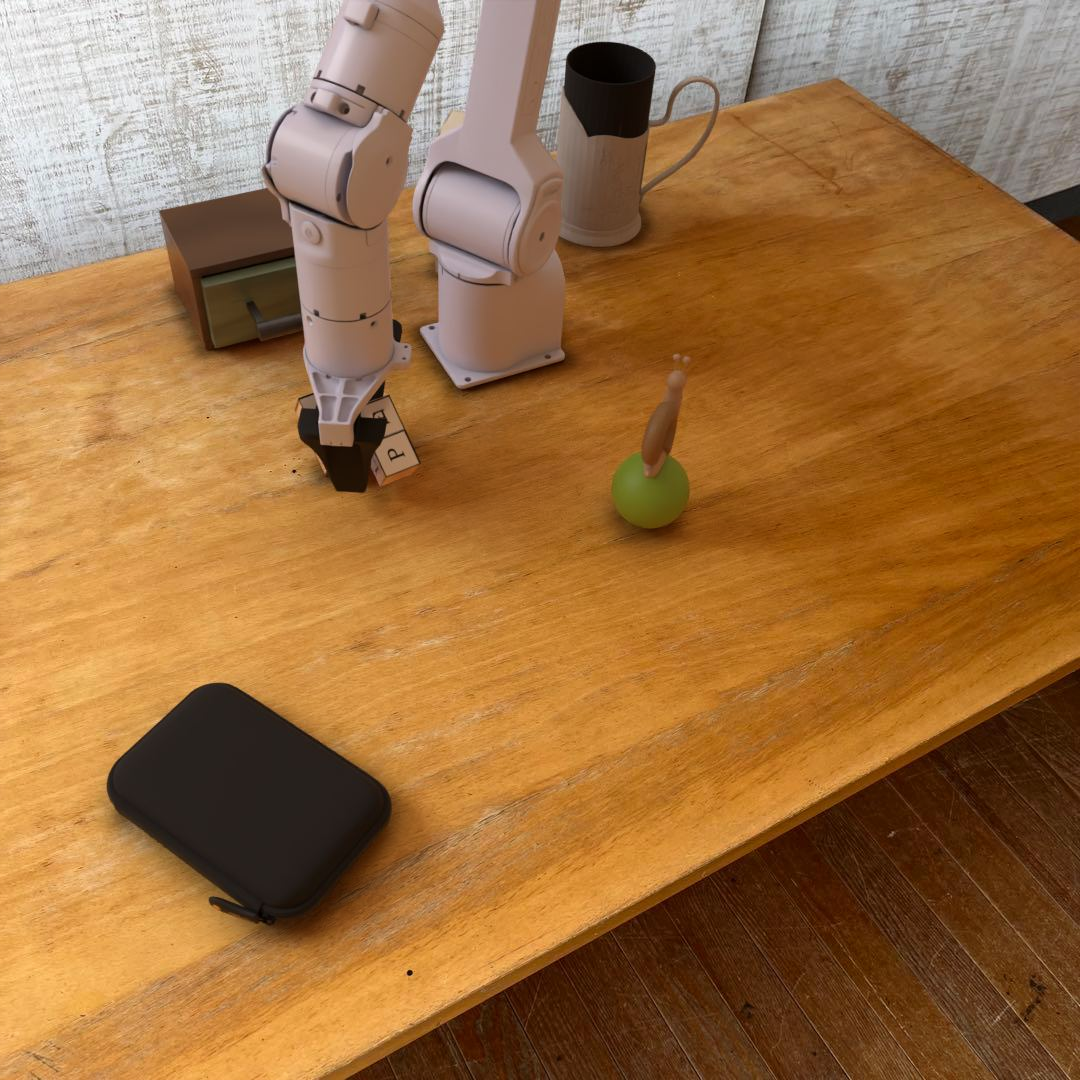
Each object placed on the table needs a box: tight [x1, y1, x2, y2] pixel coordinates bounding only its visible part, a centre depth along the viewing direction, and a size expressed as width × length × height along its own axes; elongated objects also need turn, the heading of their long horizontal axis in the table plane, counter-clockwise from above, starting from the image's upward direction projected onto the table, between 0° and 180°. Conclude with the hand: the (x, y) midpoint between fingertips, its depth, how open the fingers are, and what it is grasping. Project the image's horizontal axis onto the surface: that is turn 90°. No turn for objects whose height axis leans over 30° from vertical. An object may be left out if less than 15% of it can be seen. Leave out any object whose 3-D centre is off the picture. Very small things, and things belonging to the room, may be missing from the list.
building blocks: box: [294, 392, 422, 488], centre depth 83 cm, size 5×5×8 cm
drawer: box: [200, 255, 304, 349], centre depth 92 cm, size 12×11×6 cm
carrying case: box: [106, 682, 393, 927], centre depth 65 cm, size 11×3×15 cm
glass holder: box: [555, 41, 721, 248], centre depth 103 cm, size 9×14×15 cm, turn 96°
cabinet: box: [158, 187, 295, 351], centre depth 94 cm, size 9×13×8 cm
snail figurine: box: [610, 353, 692, 529], centre depth 79 cm, size 5×6×12 cm
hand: (358, 450), depth 84 cm, fingers closed on building blocks, 7 cm apart
